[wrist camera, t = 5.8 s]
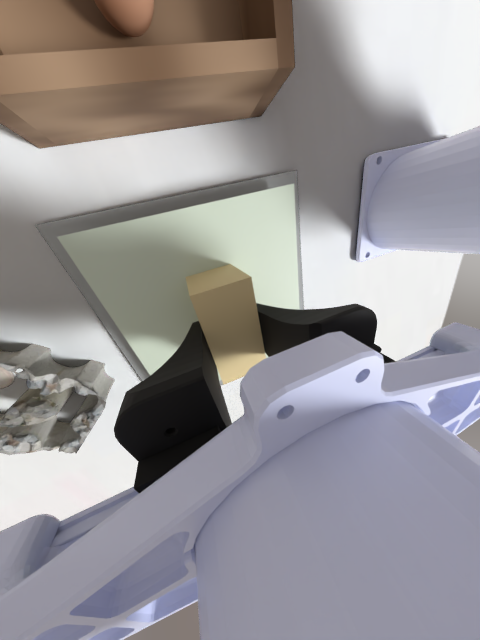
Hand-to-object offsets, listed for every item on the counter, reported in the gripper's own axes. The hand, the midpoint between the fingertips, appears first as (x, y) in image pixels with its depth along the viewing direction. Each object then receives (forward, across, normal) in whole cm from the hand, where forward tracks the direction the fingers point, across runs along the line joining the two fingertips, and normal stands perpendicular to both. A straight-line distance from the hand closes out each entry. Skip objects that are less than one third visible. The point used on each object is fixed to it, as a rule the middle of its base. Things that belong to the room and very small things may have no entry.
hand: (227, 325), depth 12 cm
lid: (+2, 0, -1) cm, 2 cm away
